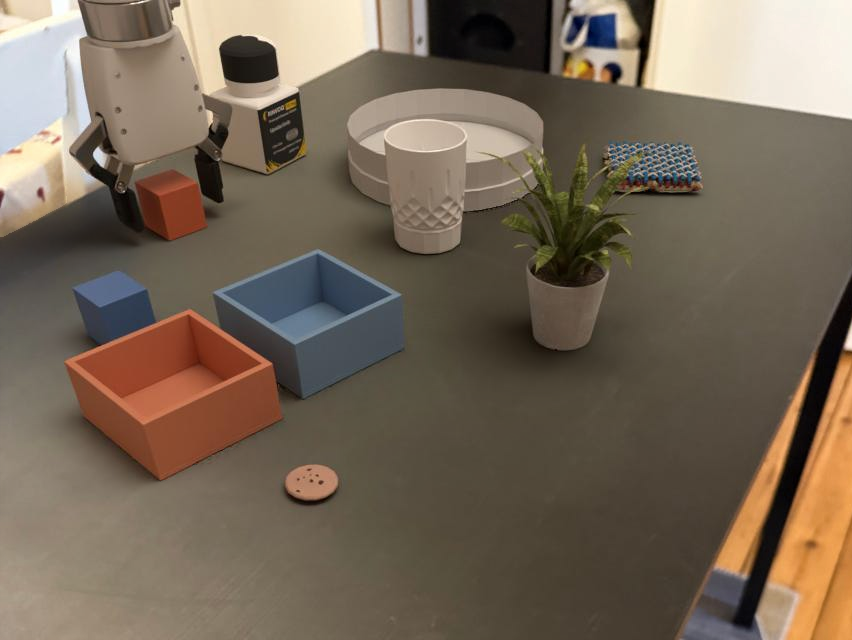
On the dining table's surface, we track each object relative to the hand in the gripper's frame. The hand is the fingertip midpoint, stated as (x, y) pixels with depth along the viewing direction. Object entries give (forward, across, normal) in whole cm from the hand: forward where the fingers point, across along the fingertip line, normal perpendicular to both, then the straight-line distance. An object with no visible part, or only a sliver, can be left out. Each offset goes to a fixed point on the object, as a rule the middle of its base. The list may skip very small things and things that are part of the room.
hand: (174, 212), depth 94 cm
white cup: (+2, -17, +20) cm, 26 cm away
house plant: (+2, -12, +41) cm, 43 cm away
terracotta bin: (+1, +18, +29) cm, 34 cm away
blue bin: (+1, +4, +28) cm, 28 cm away
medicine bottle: (+2, -17, -8) cm, 19 cm away
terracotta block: (+1, 0, 0) cm, 1 cm away
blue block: (+1, +15, +15) cm, 21 cm away
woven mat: (+2, -46, +26) cm, 53 cm away
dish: (+2, -30, +9) cm, 31 cm away
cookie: (+2, +16, +43) cm, 46 cm away
